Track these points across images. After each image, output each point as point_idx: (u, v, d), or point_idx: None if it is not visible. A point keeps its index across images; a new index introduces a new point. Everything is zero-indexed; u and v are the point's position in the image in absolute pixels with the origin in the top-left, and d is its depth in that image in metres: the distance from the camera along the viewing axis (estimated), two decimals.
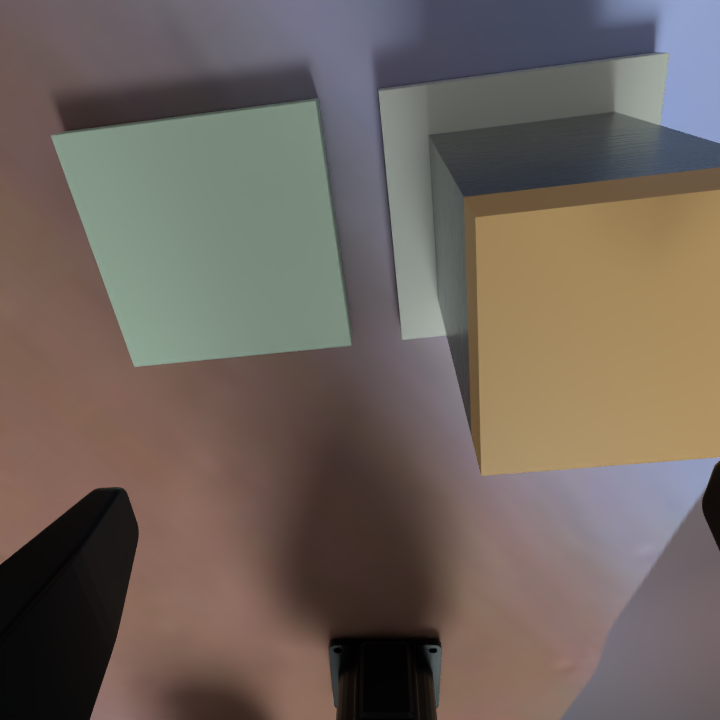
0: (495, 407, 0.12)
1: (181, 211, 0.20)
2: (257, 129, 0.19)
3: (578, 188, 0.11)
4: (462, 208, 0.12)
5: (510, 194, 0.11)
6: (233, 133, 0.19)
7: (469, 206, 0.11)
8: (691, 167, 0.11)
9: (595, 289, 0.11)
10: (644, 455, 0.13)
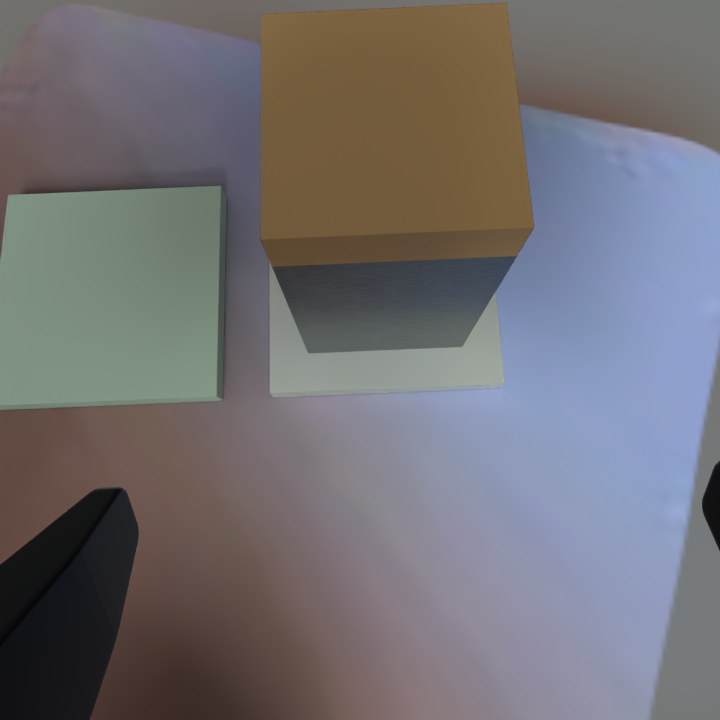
0: (275, 163, 0.13)
1: (89, 256, 0.23)
2: (171, 201, 0.24)
3: None
4: None
5: None
6: (152, 202, 0.24)
7: None
8: None
9: (354, 66, 0.14)
10: (423, 223, 0.13)
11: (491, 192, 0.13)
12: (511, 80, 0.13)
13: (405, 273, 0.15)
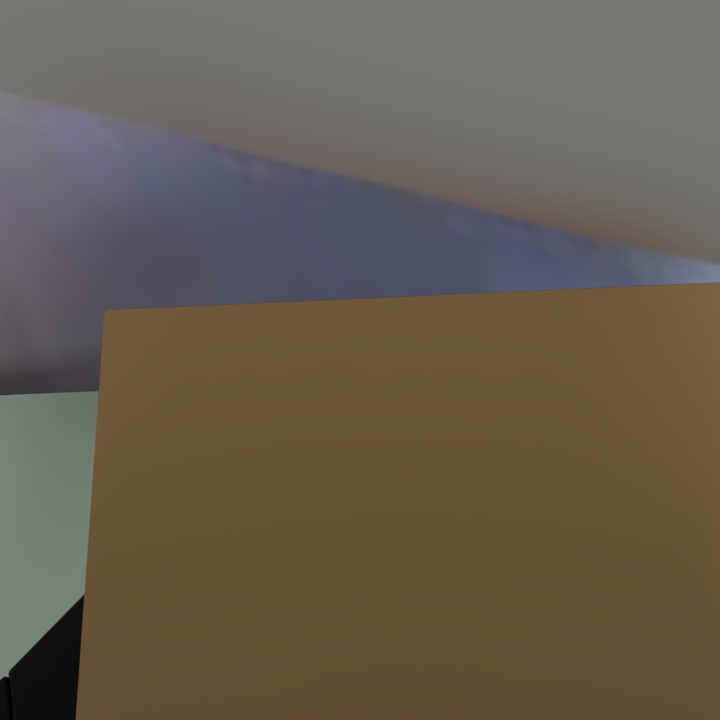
0: None
1: None
2: (62, 416, 0.15)
3: None
4: None
5: None
6: (30, 418, 0.15)
7: None
8: None
9: (372, 494, 0.04)
10: None
11: None
12: None
13: None
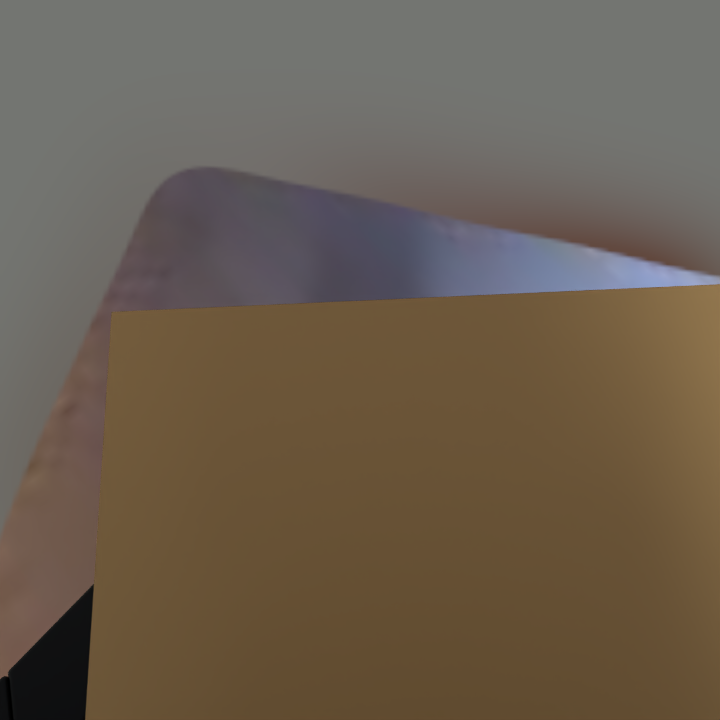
0: None
1: None
2: None
3: None
4: None
5: None
6: None
7: None
8: None
9: (374, 492, 0.05)
10: None
11: None
12: None
13: None
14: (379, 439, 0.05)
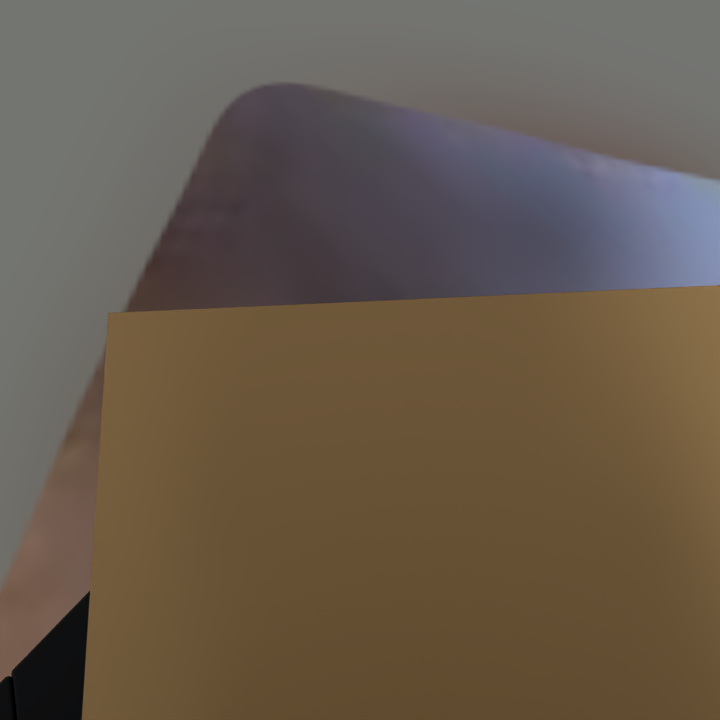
0: None
1: None
2: None
3: None
4: None
5: None
6: None
7: None
8: None
9: (369, 493, 0.05)
10: None
11: None
12: None
13: None
14: (374, 440, 0.05)
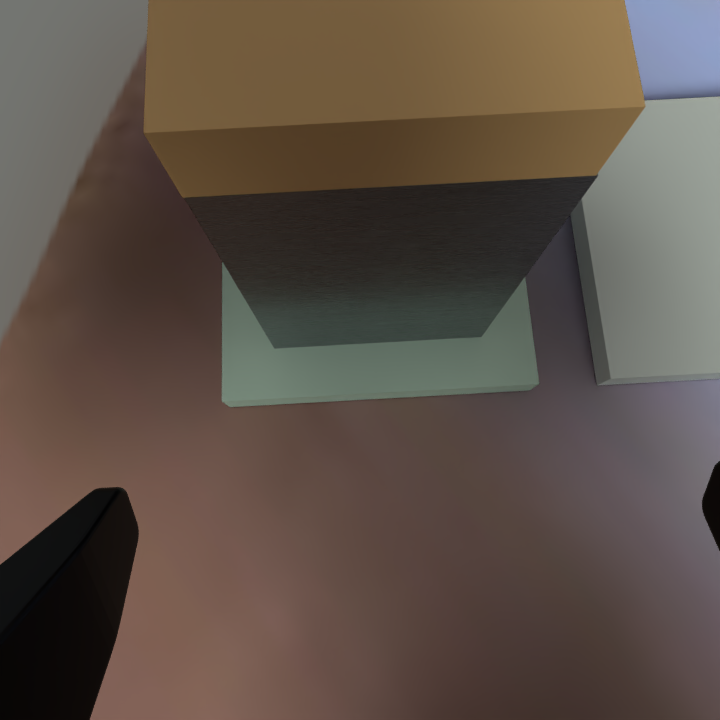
0: (174, 2, 0.07)
1: None
2: None
3: None
4: None
5: None
6: None
7: None
8: None
9: None
10: (444, 101, 0.07)
11: (564, 48, 0.07)
12: None
13: (409, 212, 0.09)
14: None
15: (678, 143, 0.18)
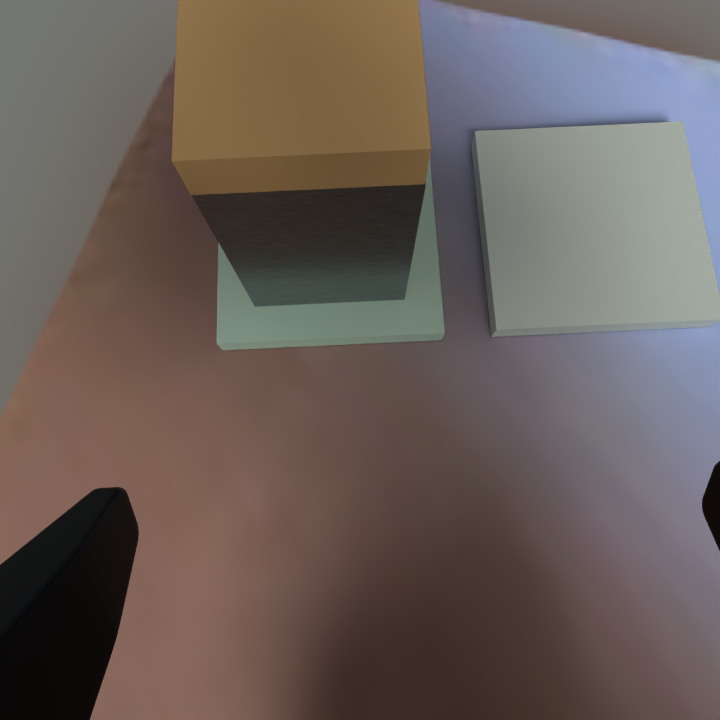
0: (188, 91, 0.14)
1: None
2: None
3: None
4: None
5: None
6: None
7: None
8: None
9: (266, 2, 0.14)
10: (327, 145, 0.13)
11: (391, 117, 0.13)
12: (415, 14, 0.14)
13: (323, 205, 0.15)
14: None
15: (556, 159, 0.24)
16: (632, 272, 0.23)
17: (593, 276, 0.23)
